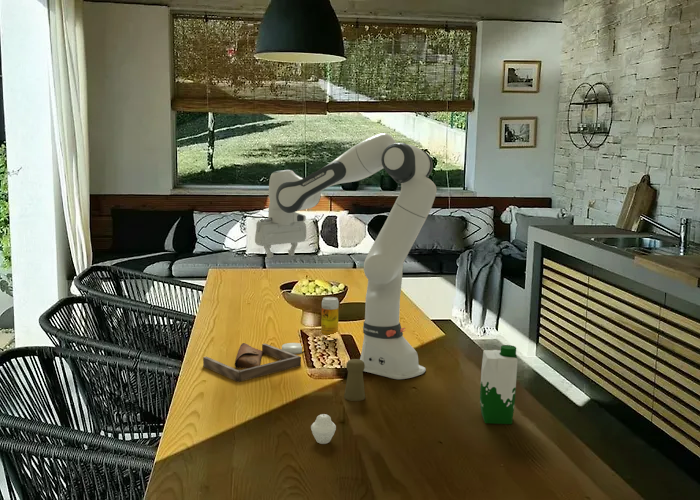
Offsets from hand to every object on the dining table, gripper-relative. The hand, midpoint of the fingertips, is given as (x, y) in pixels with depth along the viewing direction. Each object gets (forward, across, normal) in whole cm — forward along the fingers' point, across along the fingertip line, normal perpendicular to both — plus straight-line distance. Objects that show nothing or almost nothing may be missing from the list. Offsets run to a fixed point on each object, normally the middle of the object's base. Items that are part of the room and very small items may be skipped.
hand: (280, 256), depth 261 cm
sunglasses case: (+32, -20, -9) cm, 39 cm away
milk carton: (+31, +1, -92) cm, 97 cm away
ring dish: (+31, -2, -10) cm, 33 cm away
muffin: (+31, -44, -73) cm, 91 cm away
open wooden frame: (+31, -23, -15) cm, 41 cm away
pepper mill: (+31, -17, -56) cm, 66 cm away
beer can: (+31, +17, -7) cm, 36 cm away
